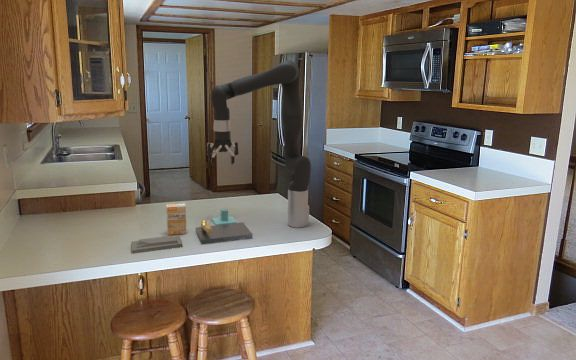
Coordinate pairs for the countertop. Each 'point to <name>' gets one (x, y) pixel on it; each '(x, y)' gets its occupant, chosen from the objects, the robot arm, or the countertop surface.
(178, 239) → the soap mold
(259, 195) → the countertop surface
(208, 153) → the robot arm
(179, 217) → the supplement box
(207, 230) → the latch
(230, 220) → the cover
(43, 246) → the countertop surface
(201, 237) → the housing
